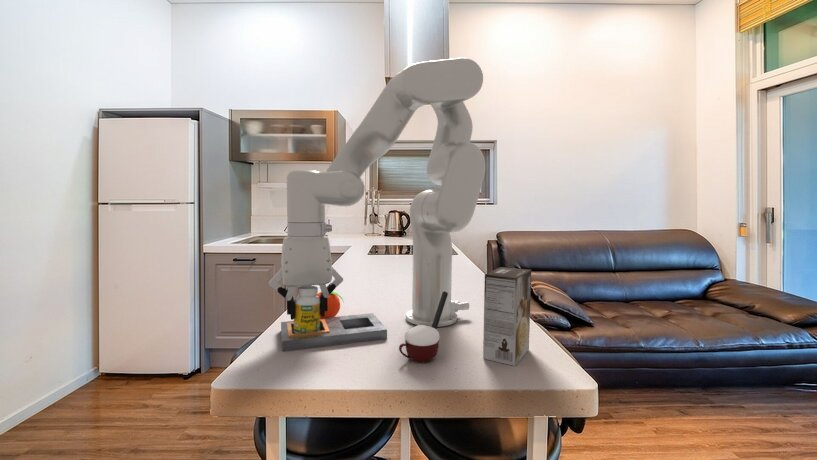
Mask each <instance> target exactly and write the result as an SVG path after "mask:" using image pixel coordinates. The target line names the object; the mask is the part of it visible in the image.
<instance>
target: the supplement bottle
mask: <svg viewBox="0 0 817 460" xmlns="http://www.w3.org/2000/svg"><path fill="white" fill-rule="evenodd" d="M297 287H298V288H297V294H298V296H297V297H296V298H294V313H295V319H293V321H294V333H304V332H314V331H319V329H320V304H321V301H320V298H319V297H318V296H316V295H317V294H318V293H319V291H318V290H319V289H318V286H317V285H310V286H297Z"/></svg>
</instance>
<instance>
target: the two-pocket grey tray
mask: <svg viewBox="0 0 817 460" xmlns="http://www.w3.org/2000/svg"><path fill="white" fill-rule="evenodd" d="M280 335H281V350H282V352H288V351H289V352H290V351H296V350H297V351H298V350H304V349H314V348H320V347H323V348H324V347H328V346H329V347H330V346H337V345H347V344H354V343H356V344H357V343H362V342H363V343H364V342H369V341H370V342H371V341H379V340H386V339H388V329H387V327H385V325H384V324H383V323H382V322H381V321H380V319H379V318H378V317H377V316H376V314H374V312H373V313H372V312H371V313H362V314H352V315H341V316H335V317H328V318H320V329H319V331H314V332H304V333H294V320H289V321H281V322H280Z"/></svg>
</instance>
